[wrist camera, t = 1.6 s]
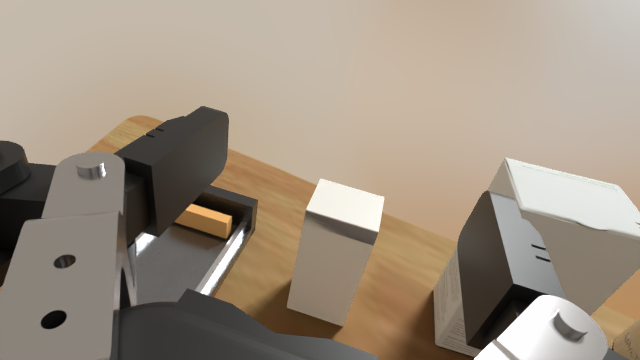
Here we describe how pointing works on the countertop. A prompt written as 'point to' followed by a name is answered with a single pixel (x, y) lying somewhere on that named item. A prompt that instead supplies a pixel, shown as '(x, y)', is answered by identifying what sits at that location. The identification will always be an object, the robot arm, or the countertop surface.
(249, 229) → the dark grey open tray
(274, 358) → the robot arm
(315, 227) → the block
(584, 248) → the skincare box
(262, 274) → the countertop surface
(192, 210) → the orange rectangular bar
